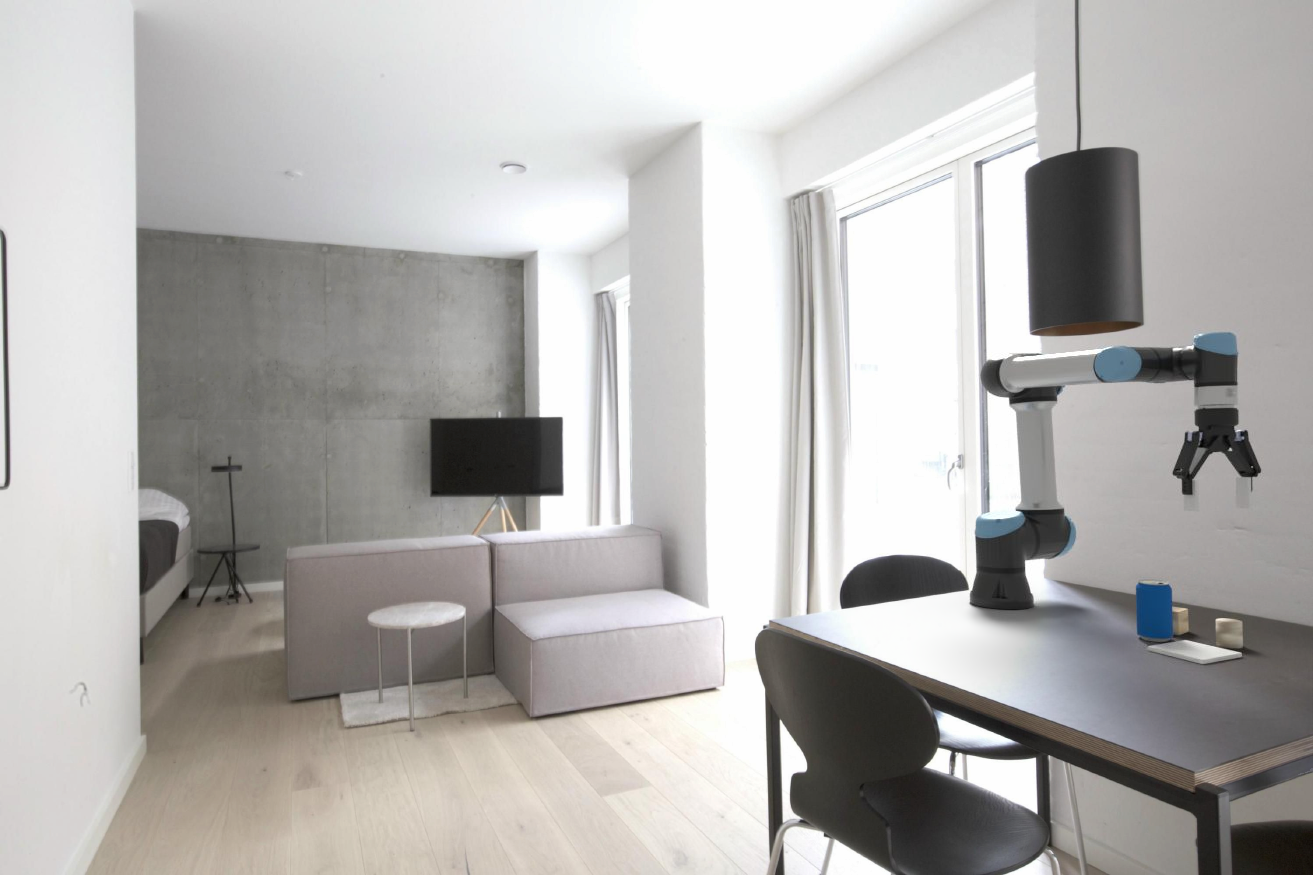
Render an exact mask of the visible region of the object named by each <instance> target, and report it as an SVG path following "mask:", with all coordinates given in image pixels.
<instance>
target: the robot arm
mask: <svg viewBox="0 0 1313 875" xmlns="http://www.w3.org/2000/svg"><path fill="white" fill-rule="evenodd" d="M1237 340H1238V339H1237V335H1236V334H1234V333H1233V332H1231V331H1229V332H1228V331H1217V332H1216V331H1215V332H1204V333H1199V334H1196V335H1194V337H1193V339H1192V344H1190V345H1186V346H1174V347H1173V346H1172V347H1162V346H1161V347H1158V346H1157V347H1155V346H1154V347H1151V346H1147V347H1146V346H1143V347H1142V346H1141V347H1140V346H1126V345H1116V346H1108V347H1106V348H1101V349H1092V350H1083V351H1071V352H1064V353H1055V354H1054V353H1053V354H1043V353H1039V352H1037V353H1027V352H1026V353H1024V352H1023V353H1022V352H1021V353H1017V352H1016V353H1015V352H1014V353H1012V352H1005V353H1003V352H1002V353H998V354H995V355H993V356H991V357H990V358H988V359H987V360H986V361H985V362H984V364H983V365H982V368H981V369H980V370H981V371H980V381H981V384H982V386H983V388H984V389H985V390H986V391H987V392H988V393H989V394H990V395H992V396H995V397H999V398H1003V399H1004V398H1005V399H1006V398H1008V404H1009V405H1008V406H1009V407H1010V408H1011V409H1012V410H1013V411H1015V419H1016V433H1017V434H1016V435H1017V436H1016V437H1017V438H1016V439H1017V453H1018V469H1019V484H1020V502H1019V504H1018V505H1016V507H1015V510H1001V511H1000V510H999V511H997V510H996V511H989V512H986V513H983V514H980V515H979V516H977V517H976V519H975V528H974V535H975V536H974V538H975V541H974V542H975V564H976V565H975V567H976V570H975V571H976V572H975V575H974V578H973V584H972V589H971V590H970V592H969V603H970V604H972V605H974V606H978V607H982V608H987V609H995V610H996V609H997V610H1022V609H1023V610H1024V609H1029V608H1033V607H1034V605H1035V603H1034V602H1035V601H1034V600H1035V598H1034V593H1031V592H1032V591H1031V587H1030V584H1029V580H1028V578H1027V575H1026V574H1027V573H1026V561H1034V560H1042V559H1043V560H1051V559H1055V558H1059V557H1064V556H1065V555H1066V554H1068V553H1070V552H1069V551H1071V550H1072V549H1073V546H1075V543H1076V539H1077V530H1076V524H1075V523H1074V522H1073V521H1072V519H1071V517H1070V516H1069V515H1068V514H1065V507H1064V505H1063V504H1061V503H1060V502H1059V501H1058V495H1057V493H1058V492H1057V491H1058V490H1057V479H1056V478H1057V475H1056V474H1057V473H1056V460H1055V459H1056V458H1055V444H1054V441H1055V440H1054V427H1053V412H1052V410H1053V408H1054V407H1055V406H1056V405H1057V404H1058V396H1059V395H1060V394H1061V393H1062V392H1063V390H1064V388H1065V387H1066V386H1076V385H1093V384H1094V385H1095V384H1117V383H1137V382H1138V383H1148V384H1165V383H1175V382H1183V381H1185V382H1186V381H1193V405H1194V406H1195V407H1197V408H1196V409H1195V410H1194V425H1195V426H1196V427H1198V430H1186V431H1185V432H1184V441H1183V444H1182V446H1181V449H1180V452H1179V454H1178V457H1177V460H1176V463H1175V465H1174V467H1173V470H1172V476H1173V477H1176V478H1177V479H1181V494H1182V495H1183V511H1185V512H1186V511H1187V512H1195V513H1196V512H1199V511H1200V510H1199V479H1196V476H1197V475H1198V473H1199V471H1200V470H1201V468H1202V467H1203V465H1204V464H1205V462H1206V461H1207V459H1208V458H1209V456H1210V455H1212V454H1213V453H1222V454H1224V456H1225V457H1226V458H1227V459H1228V461H1229V463H1230V464H1231V465H1232V467H1233V468H1234V470H1235V471H1236V473H1238V475H1239V476H1235V495H1236V497H1235V500H1236V501H1235V502H1236V506H1235V507H1236V508H1237V509H1249V510H1251V509H1252V492H1253V488H1254V487H1253V478H1257V477H1258V476H1259V474H1261V473H1262V468H1261V466H1260V463H1259V461H1258V458H1257V456H1256V454H1255V452H1254V449H1253V447H1252V445H1251V441H1250V439H1249V438H1250V437H1249V431H1248V430H1247V429H1235V427H1236V426H1238V425H1239V424H1240V423H1239V422H1240V420H1239V418H1240V417H1239V413H1240V412H1239V409H1238V407H1235V406H1237V405H1239V395H1238V394H1239V392H1238V391H1239V390H1238V385H1239V384H1238V361H1239V360H1238V358H1239V351H1238V342H1237Z"/></svg>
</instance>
